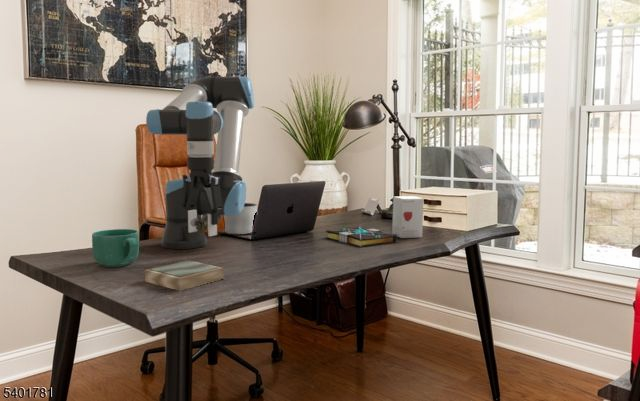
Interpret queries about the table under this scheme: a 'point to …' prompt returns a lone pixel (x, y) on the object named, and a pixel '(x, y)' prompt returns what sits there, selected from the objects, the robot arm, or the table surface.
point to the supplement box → (407, 216)
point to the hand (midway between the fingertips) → (202, 233)
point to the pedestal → (184, 275)
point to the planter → (241, 220)
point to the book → (361, 236)
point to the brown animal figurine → (202, 223)
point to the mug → (115, 247)
